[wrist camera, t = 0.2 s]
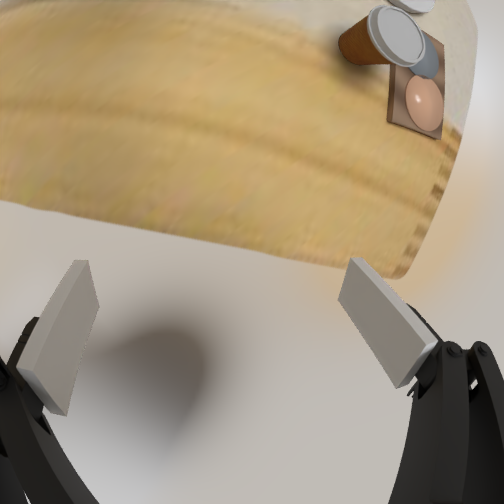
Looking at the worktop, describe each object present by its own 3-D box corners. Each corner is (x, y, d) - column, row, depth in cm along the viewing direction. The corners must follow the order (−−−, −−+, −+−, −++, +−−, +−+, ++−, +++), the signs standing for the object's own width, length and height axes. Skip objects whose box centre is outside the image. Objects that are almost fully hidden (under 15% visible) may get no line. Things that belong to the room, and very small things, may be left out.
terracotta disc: (406, 66, 32) (407, 65, 32) (443, 86, 35) (444, 86, 35) (402, 122, 37) (404, 122, 37) (439, 137, 40) (441, 137, 39)
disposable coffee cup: (346, 80, 34) (395, 72, 23) (319, 29, 29) (361, 5, 19) (386, 66, 34) (436, 60, 23) (362, 19, 29) (408, 1, 19)
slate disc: (396, 17, 28) (398, 17, 27) (436, 41, 30) (437, 41, 30) (397, 67, 32) (399, 66, 32) (437, 87, 35) (438, 87, 35)
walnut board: (389, 16, 29) (394, 14, 27) (438, 45, 32) (443, 44, 31) (386, 120, 38) (392, 121, 37) (435, 139, 41) (440, 140, 40)
